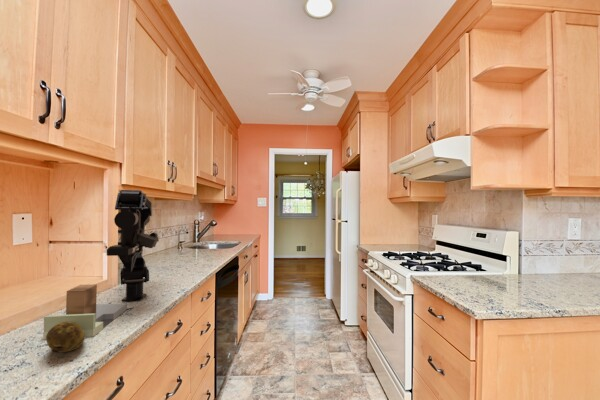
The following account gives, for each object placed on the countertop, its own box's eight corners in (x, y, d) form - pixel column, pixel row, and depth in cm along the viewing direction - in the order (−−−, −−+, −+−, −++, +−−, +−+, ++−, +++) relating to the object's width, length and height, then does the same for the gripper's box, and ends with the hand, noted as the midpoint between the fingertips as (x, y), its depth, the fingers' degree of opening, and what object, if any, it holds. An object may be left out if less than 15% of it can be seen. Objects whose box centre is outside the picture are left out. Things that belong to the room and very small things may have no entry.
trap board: (88, 310, 93) (88, 292, 93) (126, 309, 95) (127, 291, 95) (43, 339, 74) (43, 317, 74) (93, 336, 75) (93, 314, 75)
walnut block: (79, 318, 82) (80, 284, 82) (96, 317, 83) (96, 284, 83) (65, 327, 76) (66, 291, 77) (83, 326, 77) (84, 290, 77)
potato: (97, 336, 76) (98, 307, 76) (73, 362, 63) (74, 327, 63) (61, 340, 73) (62, 310, 73) (29, 368, 61) (30, 332, 61)
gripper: (144, 228, 87) (143, 278, 87) (164, 224, 105) (163, 265, 105) (106, 228, 85) (104, 279, 85) (132, 224, 103) (132, 266, 103)
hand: (129, 271), depth 94 cm, fingers closed
